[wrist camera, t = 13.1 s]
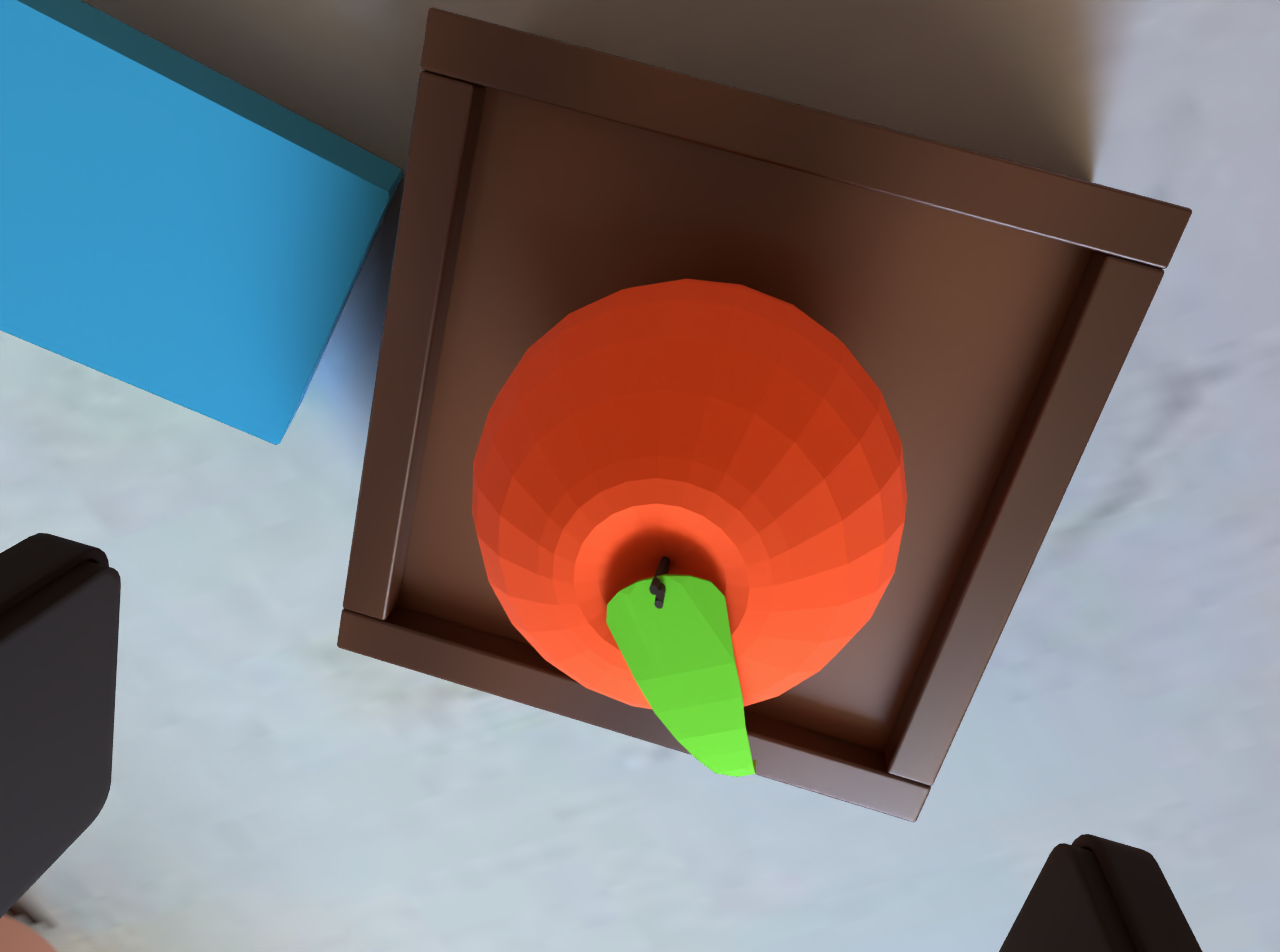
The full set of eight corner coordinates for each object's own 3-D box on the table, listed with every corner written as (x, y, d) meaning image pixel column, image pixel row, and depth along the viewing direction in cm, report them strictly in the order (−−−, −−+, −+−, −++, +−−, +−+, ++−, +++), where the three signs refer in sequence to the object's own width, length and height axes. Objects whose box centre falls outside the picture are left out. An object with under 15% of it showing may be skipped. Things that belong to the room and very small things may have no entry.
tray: (428, 539, 27) (335, 648, 21) (519, 31, 22) (427, 6, 16) (892, 676, 26) (916, 824, 21) (1094, 183, 21) (1195, 209, 16)
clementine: (936, 595, 20) (1003, 842, 13) (612, 660, 21) (527, 908, 15) (839, 200, 17) (862, 258, 11) (484, 309, 19) (315, 417, 12)
